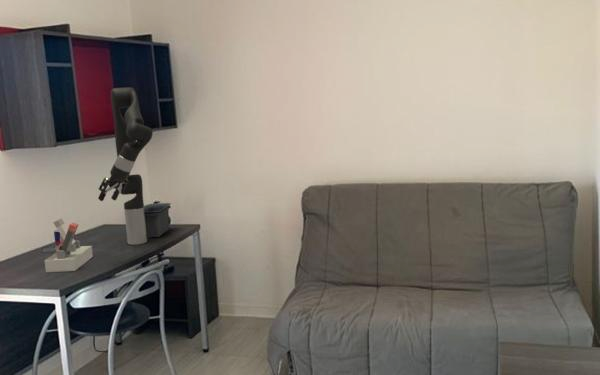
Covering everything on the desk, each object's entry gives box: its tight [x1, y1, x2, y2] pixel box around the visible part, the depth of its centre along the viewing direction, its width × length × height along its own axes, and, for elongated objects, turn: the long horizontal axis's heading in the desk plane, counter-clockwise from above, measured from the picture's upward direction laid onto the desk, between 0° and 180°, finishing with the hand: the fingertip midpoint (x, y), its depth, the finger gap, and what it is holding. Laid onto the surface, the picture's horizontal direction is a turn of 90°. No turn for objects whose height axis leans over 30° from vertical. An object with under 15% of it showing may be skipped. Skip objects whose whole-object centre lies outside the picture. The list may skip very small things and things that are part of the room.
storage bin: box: [144, 202, 172, 239], centre depth 308 cm, size 21×16×14 cm
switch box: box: [44, 240, 94, 273], centre depth 259 cm, size 22×12×8 cm, turn 0°
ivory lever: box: [52, 218, 77, 248], centre depth 263 cm, size 4×2×14 cm, turn 0°
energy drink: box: [53, 229, 64, 252], centre depth 273 cm, size 5×5×12 cm
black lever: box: [61, 222, 80, 255], centre depth 252 cm, size 4×2×14 cm, turn 0°
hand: (106, 199), depth 257 cm, fingers open, 8 cm apart
